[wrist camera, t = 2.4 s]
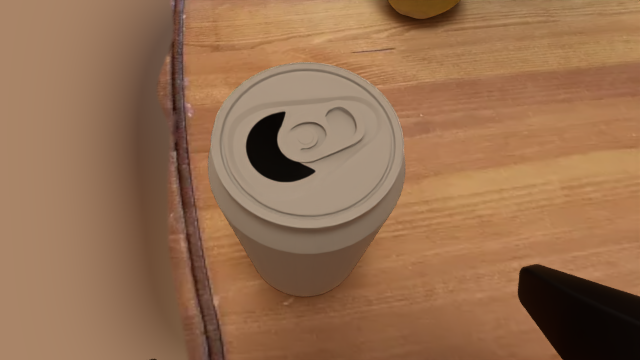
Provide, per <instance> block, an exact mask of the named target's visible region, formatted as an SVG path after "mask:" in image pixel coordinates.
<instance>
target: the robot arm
mask: <svg viewBox="0 0 640 360" xmlns="http://www.w3.org/2000/svg"><path fill="white" fill-rule="evenodd" d="M518 297H519V300H520V302H521V303H522V305H523V306H524V308H525V309H526V310H527V312H528V313H529V315H530V316H531V317H532V319H533V320H534V321H535V323H536V324H537V326H538V327H539V328H540V330H541V331H542V332H543V334H544V335H545V337H546V338H547V339H548V341H549V342H550V343H551V345H552V346H553V347H554V349H555V350H556V351H557V353H558V354H559V355H560V357H561V358H562V359H563V360H640V296H636V295H633V294H630V293H627V292H624V291H621V290H618V289H614V288H611V287H608V286H605V285H602V284H599V283H596V282H592V281H589V280H586V279H583V278H580V277H577V276H574V275H571V274H567V273H564V272H561V271H558V270H555V269H552V268H549V267H545V266H542V265H539V264H534V265H530V266H526V267H523V268H521V270H520V273H519V285H518ZM151 360H156V359H151Z"/></svg>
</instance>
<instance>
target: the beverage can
mask: <svg viewBox="0 0 640 360" xmlns="http://www.w3.org/2000/svg"><path fill="white" fill-rule="evenodd" d="M208 175H209V182H210V185H211V189H212V192H213V195H214V197H215V199H216V201H217V203H218V205H219V207H220V209H221V210H222V212H223V214H224V216H225V217H226V219H227V221H228V222H229V224H230V226H231V227H232V229H233V231H234V232H235V234H236V236H237V237H238V239H239V241H240V242H241V244H242V246H243V248H244V249H245V251H246V253H247V254H248V256H249V258H250V259H251V261H252V263H253V264H254V266H255V268H256V269H257V271H258V273H259V274H260V275H261V277H262V278H263V279H264V280H265V281H266V282H267V283H269V284H270V285H271V286H273V287H274V288H276V289H277V290H279V291H281V292H284V293H286V294H290V295H294V296H315V295H320V294H323V293H325V292H328V291H330V290H332V289H334V288H335V287H337V286H338V285H339V284H341V283H342V282H343V281H344V280H345V279H346V278H347V277H348V276H349V274H350V273H351V271H352V270H353V269H354V267H355V266H356V264H357V263H358V261H359V260H360V258H361V257H362V255H363V254H364V252H365V251H366V249H367V248H368V246H369V245H370V243H371V242H372V240H373V239H374V237H375V236H376V234H377V233H378V231H379V230H380V228H381V227H382V225H383V224H384V222H385V221H386V220H387V218H388V217H389V215H390V214H391V212H392V211H393V209H394V207H395V205H396V204H397V201H398V199H399V197H400V194H401V192H402V188H403V184H404V179H405V155H404V138H403V131H402V127H401V124H400V121H399V118H398V116H397V114H396V112H395V110H394V108H393V107H392V105H391V104H390V102H389V101H388V100H387V98H386V97H385V96H384V95H383V94H382V93H381V92H380V91H379V90H378V89H377V88H376V87H375V86H374V85H372V84H371V83H370V82H368V81H367V80H365V79H364V78H362V77H360V76H359V75H357V74H355V73H353V72H350V71H348V70H346V69H343V68H340V67H337V66H333V65H328V64H323V63H313V62H299V63H289V64H284V65H279V66H275V67H272V68H269V69H267V70H264V71H262V72H260V73H258V74H256V75H254V76H252V77H250V78H249V79H247V80H246V81H244V82H243V83H242V84H241V85H239V86H238V87H237V88H236V89H235V90H234V91H233V92H232V93H231V94H230V95H229V96H228V98H227V99H226V100H225V101H224V103H223V105H222V106H221V108H220V110H219V111H218V114H217V116H216V119H215V123H214V126H213V130H212V135H211V147H210V152H209V157H208Z"/></svg>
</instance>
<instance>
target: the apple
mask: <svg viewBox="0 0 640 360" xmlns="http://www.w3.org/2000/svg"><path fill="white" fill-rule="evenodd" d="M388 1H389V3H390V4H391V5H392V7H393V8H394V9H395V10H396V11H397V12H399V13H400V14H403V15H407V16H410V17H413V18H418V19H425V18H429V17H432V16H435V15H438V14H440V13H443V12H445V11H447V10H449V9H450V8H452V7H453V6H454V5H456V4H457V3H458V2H459V1H460V0H388Z"/></svg>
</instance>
